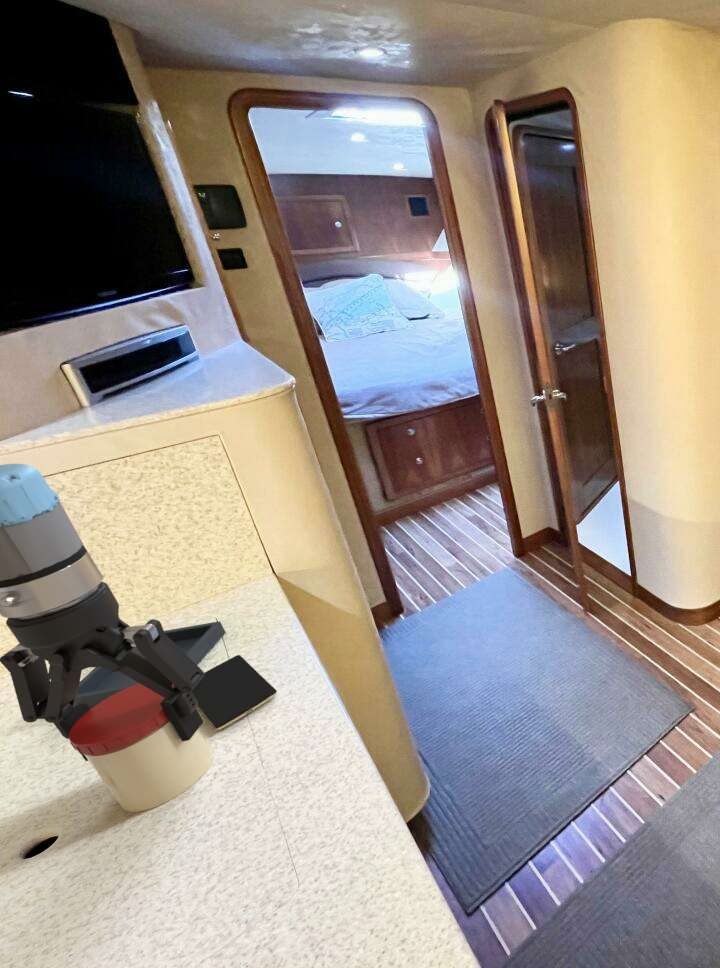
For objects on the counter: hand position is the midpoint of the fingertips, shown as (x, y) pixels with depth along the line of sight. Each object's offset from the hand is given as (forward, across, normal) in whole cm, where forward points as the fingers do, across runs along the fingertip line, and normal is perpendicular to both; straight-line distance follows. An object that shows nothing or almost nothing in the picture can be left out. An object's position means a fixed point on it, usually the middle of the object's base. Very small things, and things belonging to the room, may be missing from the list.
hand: (146, 740), depth 67 cm
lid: (-5, 0, 0) cm, 5 cm away
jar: (+7, 0, 0) cm, 7 cm away
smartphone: (+7, 0, +14) cm, 15 cm away
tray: (+7, -16, +23) cm, 29 cm away
